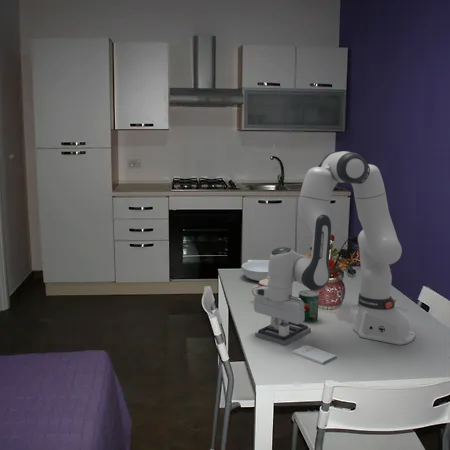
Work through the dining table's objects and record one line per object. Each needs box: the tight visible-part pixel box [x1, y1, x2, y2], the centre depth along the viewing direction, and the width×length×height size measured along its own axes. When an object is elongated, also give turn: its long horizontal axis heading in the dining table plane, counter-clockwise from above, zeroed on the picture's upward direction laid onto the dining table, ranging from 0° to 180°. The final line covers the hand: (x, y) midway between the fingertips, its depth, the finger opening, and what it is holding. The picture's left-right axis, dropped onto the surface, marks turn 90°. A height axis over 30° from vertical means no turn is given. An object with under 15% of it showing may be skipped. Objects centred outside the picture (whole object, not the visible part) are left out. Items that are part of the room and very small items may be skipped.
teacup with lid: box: [251, 276, 269, 297], centre depth 247 cm, size 12×9×12 cm
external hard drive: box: [292, 344, 338, 366], centre depth 193 cm, size 2×8×12 cm
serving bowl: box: [241, 260, 269, 282], centre depth 283 cm, size 21×21×7 cm
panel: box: [254, 322, 312, 347], centre depth 211 cm, size 13×18×2 cm
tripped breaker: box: [279, 322, 289, 337], centre depth 204 cm, size 2×3×5 cm
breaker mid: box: [270, 316, 279, 327], centre depth 213 cm, size 2×3×5 cm
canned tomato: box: [298, 289, 320, 324], centre depth 227 cm, size 8×8×11 cm
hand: (277, 329), depth 206 cm, fingers closed
